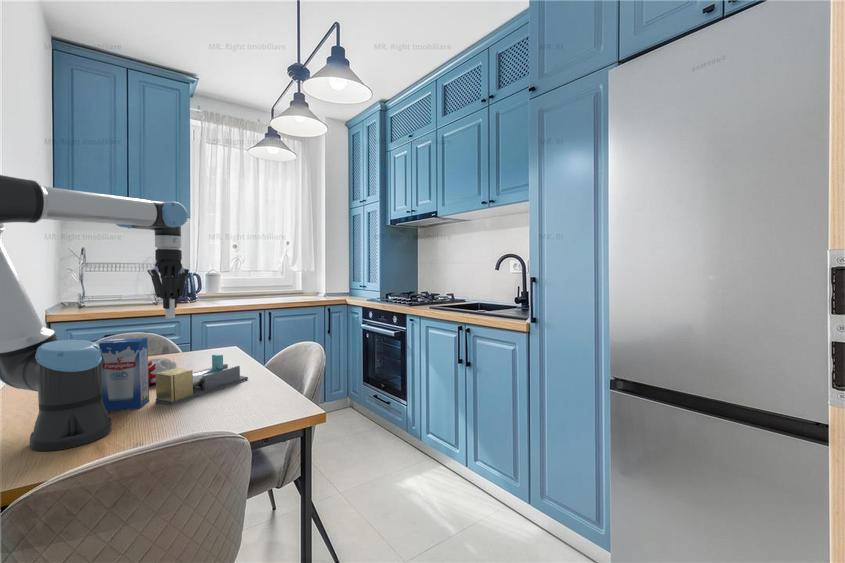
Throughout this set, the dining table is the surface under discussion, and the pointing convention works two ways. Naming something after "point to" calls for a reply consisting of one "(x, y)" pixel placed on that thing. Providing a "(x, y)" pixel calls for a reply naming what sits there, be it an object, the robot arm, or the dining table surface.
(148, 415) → the dining table surface
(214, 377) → the guide
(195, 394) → the mat
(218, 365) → the bolt
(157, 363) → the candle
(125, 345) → the milk carton
